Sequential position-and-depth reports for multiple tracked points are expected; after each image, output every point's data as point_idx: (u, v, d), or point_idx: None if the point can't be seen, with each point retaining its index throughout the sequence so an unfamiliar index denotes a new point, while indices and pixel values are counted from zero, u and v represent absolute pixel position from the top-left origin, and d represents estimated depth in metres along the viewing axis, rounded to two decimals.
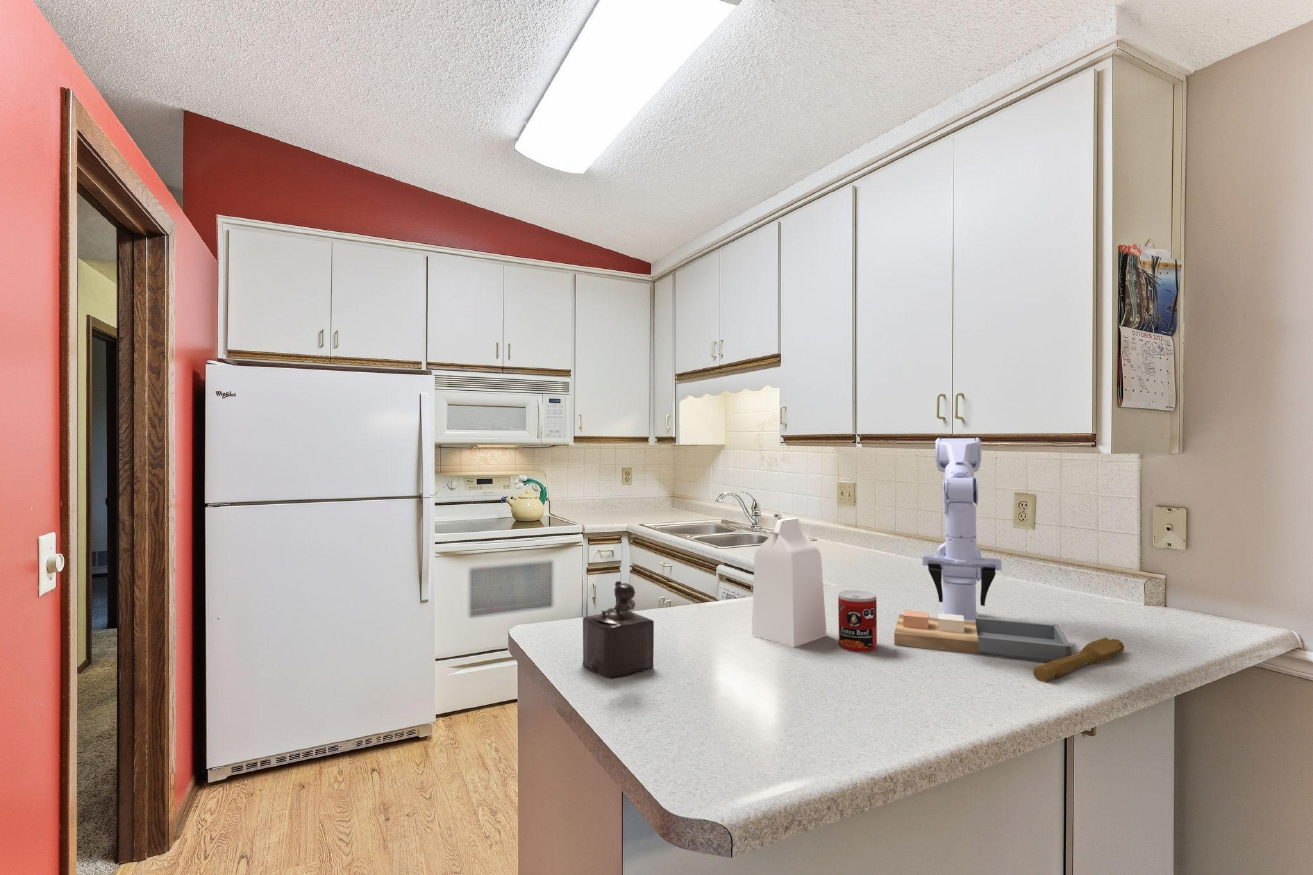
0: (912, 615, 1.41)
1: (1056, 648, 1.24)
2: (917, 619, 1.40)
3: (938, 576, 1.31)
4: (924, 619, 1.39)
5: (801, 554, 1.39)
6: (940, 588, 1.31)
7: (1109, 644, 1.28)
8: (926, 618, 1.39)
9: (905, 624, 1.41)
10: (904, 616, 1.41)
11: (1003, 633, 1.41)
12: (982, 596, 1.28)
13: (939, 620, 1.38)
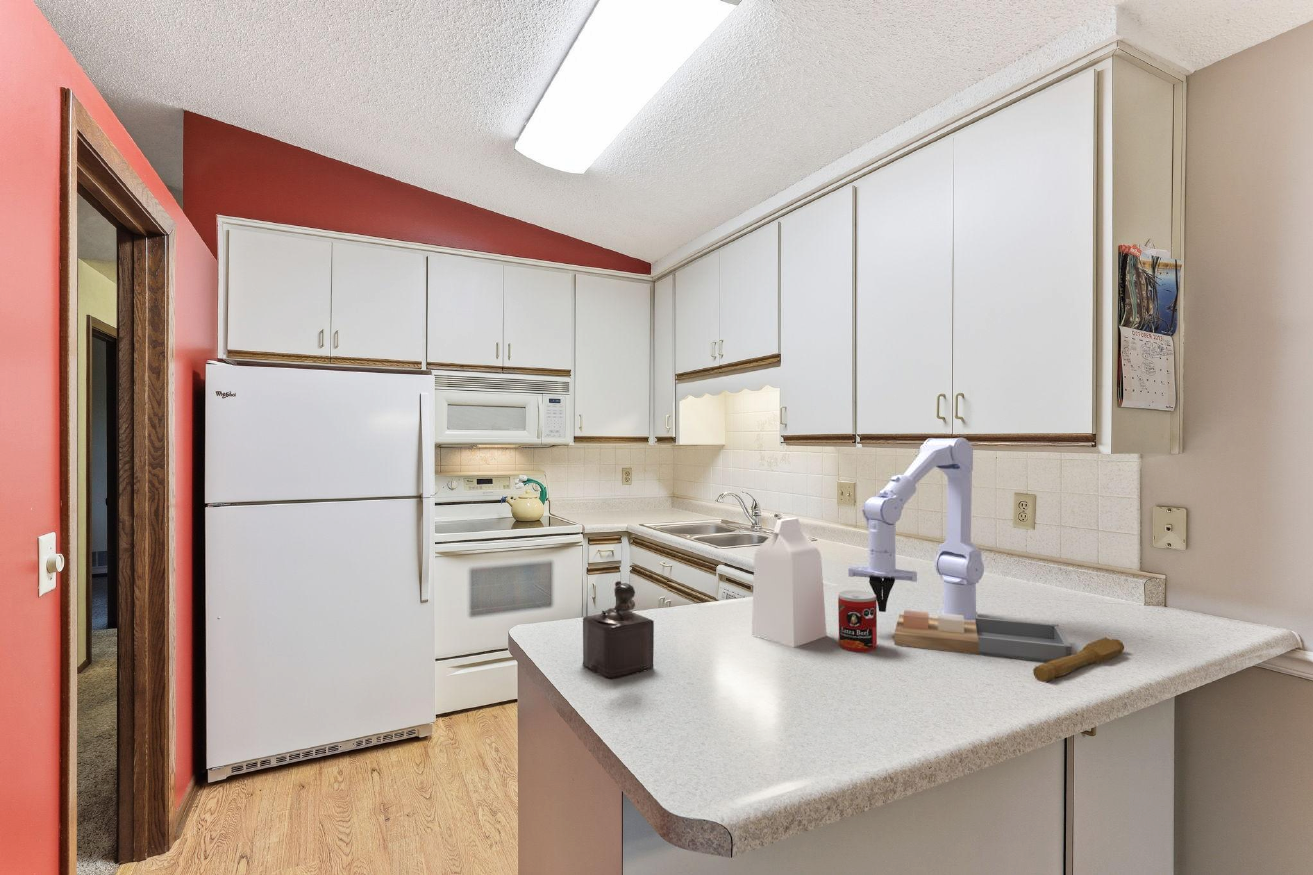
0: (912, 615, 1.41)
1: (1056, 648, 1.24)
2: (917, 619, 1.40)
3: (877, 588, 1.43)
4: (924, 619, 1.39)
5: (801, 554, 1.39)
6: (879, 599, 1.44)
7: (1109, 644, 1.28)
8: (926, 618, 1.39)
9: (905, 624, 1.41)
10: (904, 616, 1.41)
11: (1003, 633, 1.41)
12: (883, 603, 1.44)
13: (939, 620, 1.38)
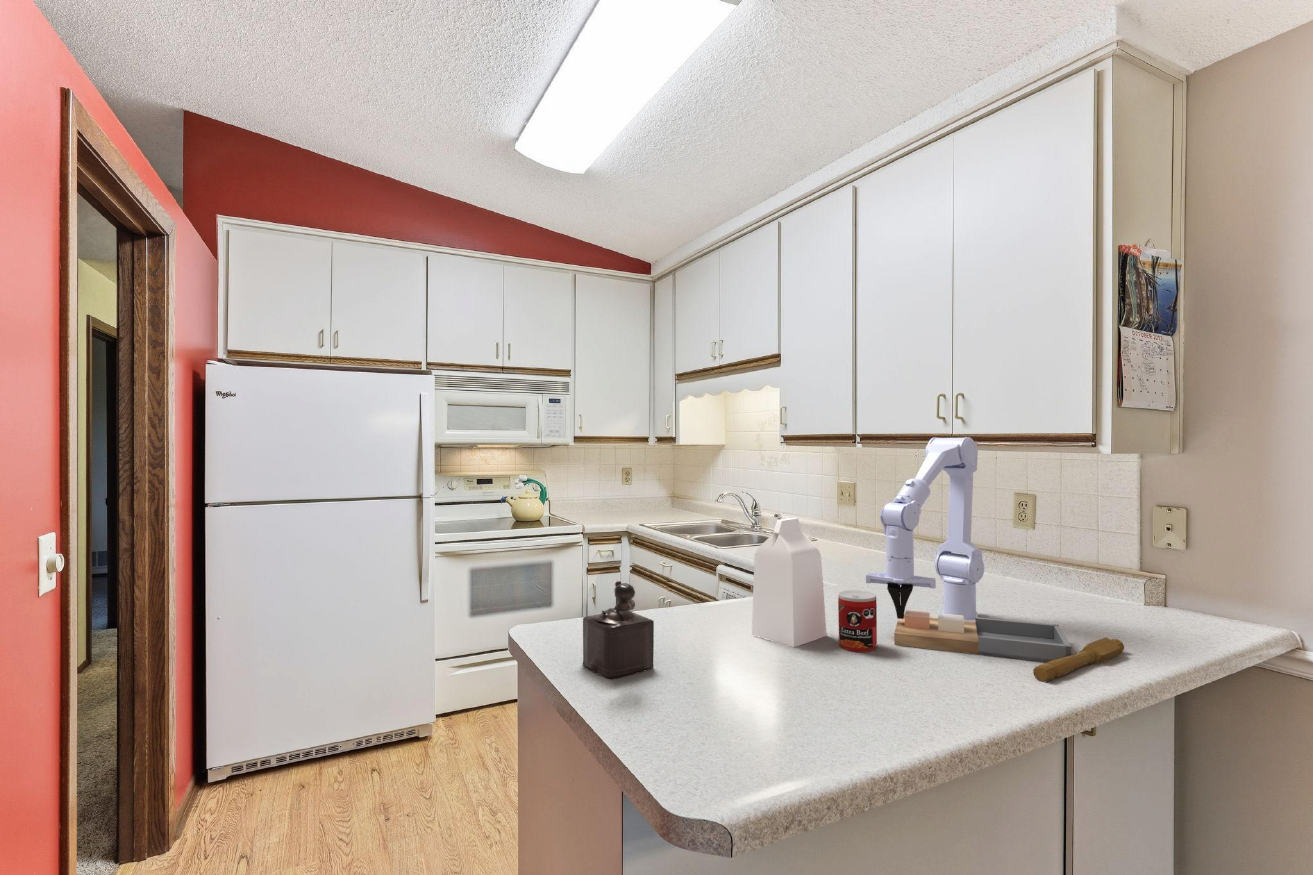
0: (913, 615, 1.41)
1: (1056, 648, 1.24)
2: (918, 619, 1.40)
3: (896, 595, 1.42)
4: (925, 619, 1.39)
5: (801, 554, 1.39)
6: (898, 606, 1.42)
7: (1109, 644, 1.28)
8: (927, 618, 1.39)
9: (906, 624, 1.41)
10: (905, 616, 1.41)
11: (1003, 633, 1.41)
12: (901, 610, 1.42)
13: (939, 620, 1.38)
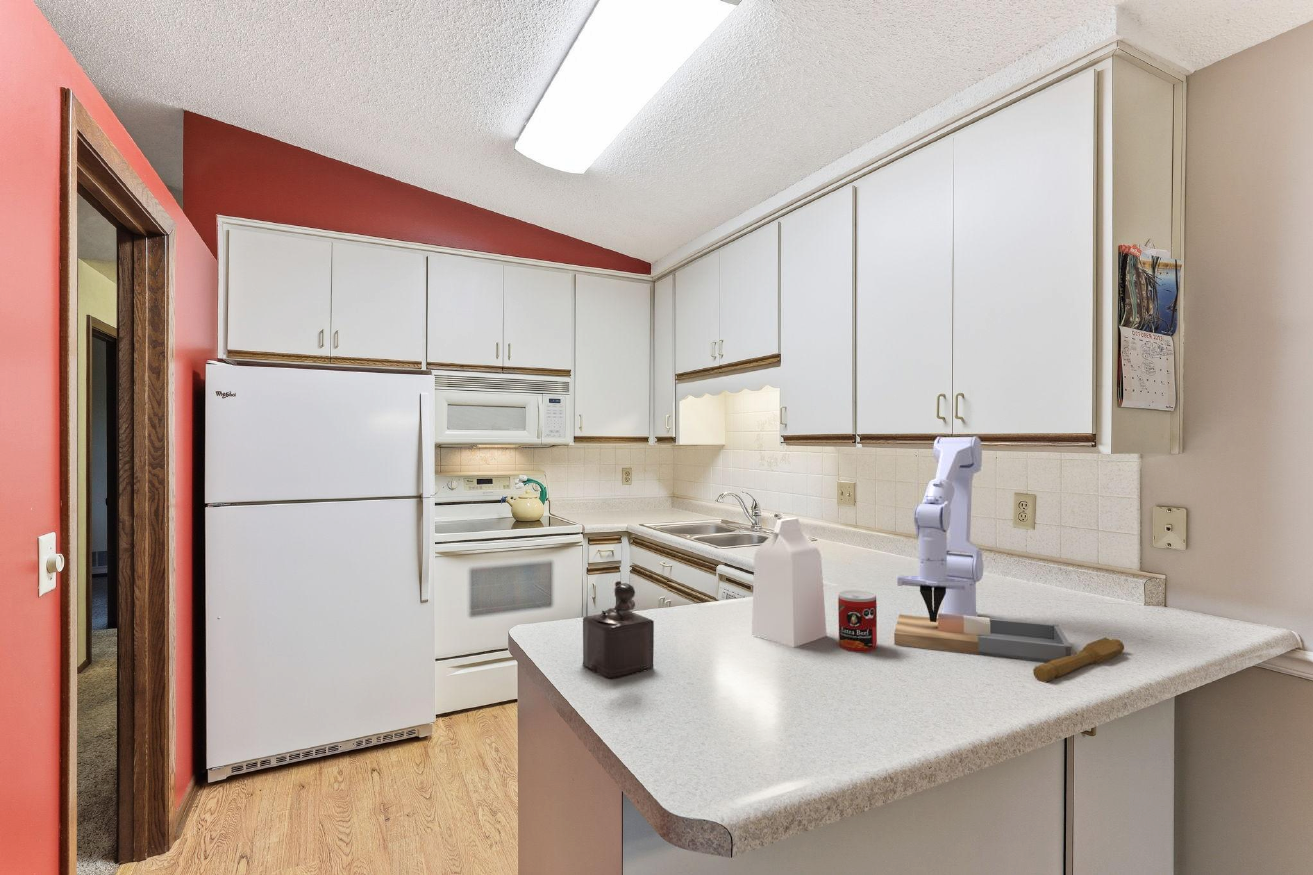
0: (947, 618, 1.38)
1: (1056, 648, 1.24)
2: (952, 623, 1.37)
3: (929, 597, 1.39)
4: (959, 622, 1.36)
5: (801, 554, 1.39)
6: (931, 609, 1.39)
7: (1109, 644, 1.28)
8: (961, 621, 1.36)
9: (940, 628, 1.38)
10: (939, 619, 1.38)
11: (1003, 633, 1.41)
12: (934, 613, 1.39)
13: (965, 623, 1.36)
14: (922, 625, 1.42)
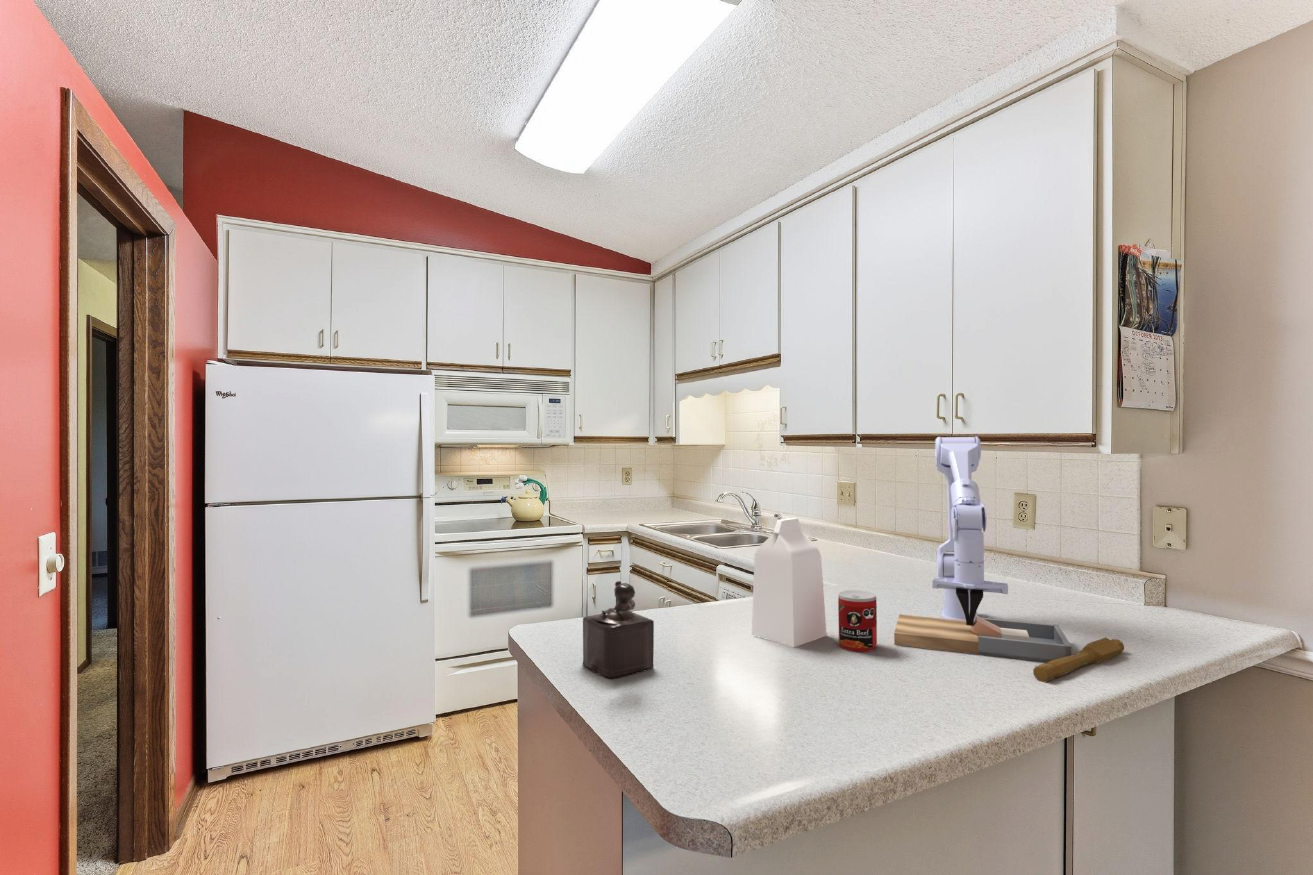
0: (985, 624, 1.35)
1: (1056, 648, 1.24)
2: (989, 630, 1.34)
3: (966, 600, 1.36)
4: (997, 633, 1.33)
5: (801, 554, 1.39)
6: (967, 612, 1.36)
7: (1109, 644, 1.28)
8: (999, 633, 1.33)
9: (975, 630, 1.35)
10: (977, 622, 1.35)
11: None
12: (971, 617, 1.36)
13: (1002, 635, 1.33)
14: (922, 625, 1.42)
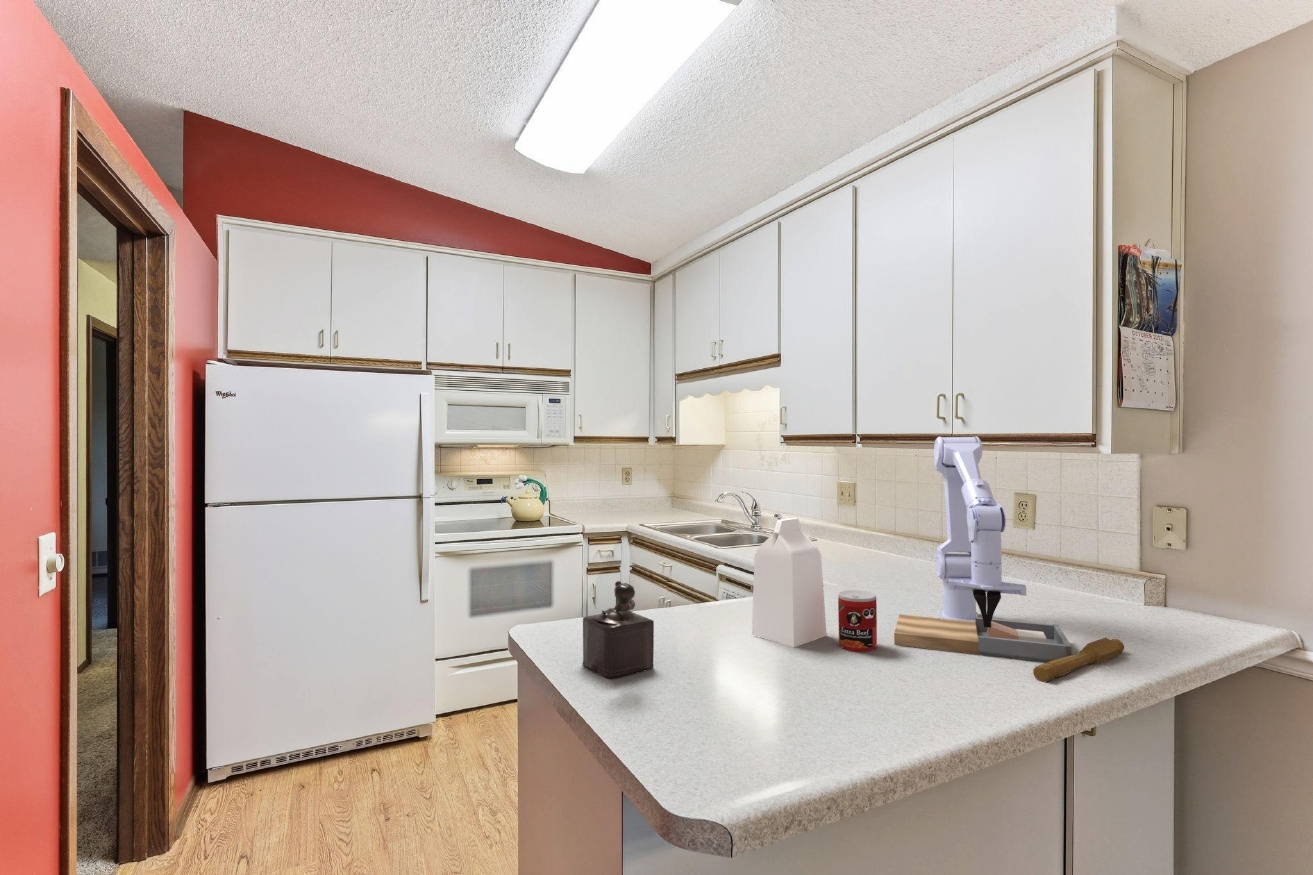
0: (1001, 629, 1.34)
1: (1056, 648, 1.24)
2: (1006, 635, 1.33)
3: (983, 602, 1.35)
4: (1013, 637, 1.32)
5: (801, 554, 1.39)
6: (985, 613, 1.35)
7: (1109, 644, 1.28)
8: (1016, 636, 1.32)
9: (991, 636, 1.34)
10: (992, 628, 1.34)
11: None
12: (988, 618, 1.35)
13: (1019, 637, 1.32)
14: (922, 625, 1.42)
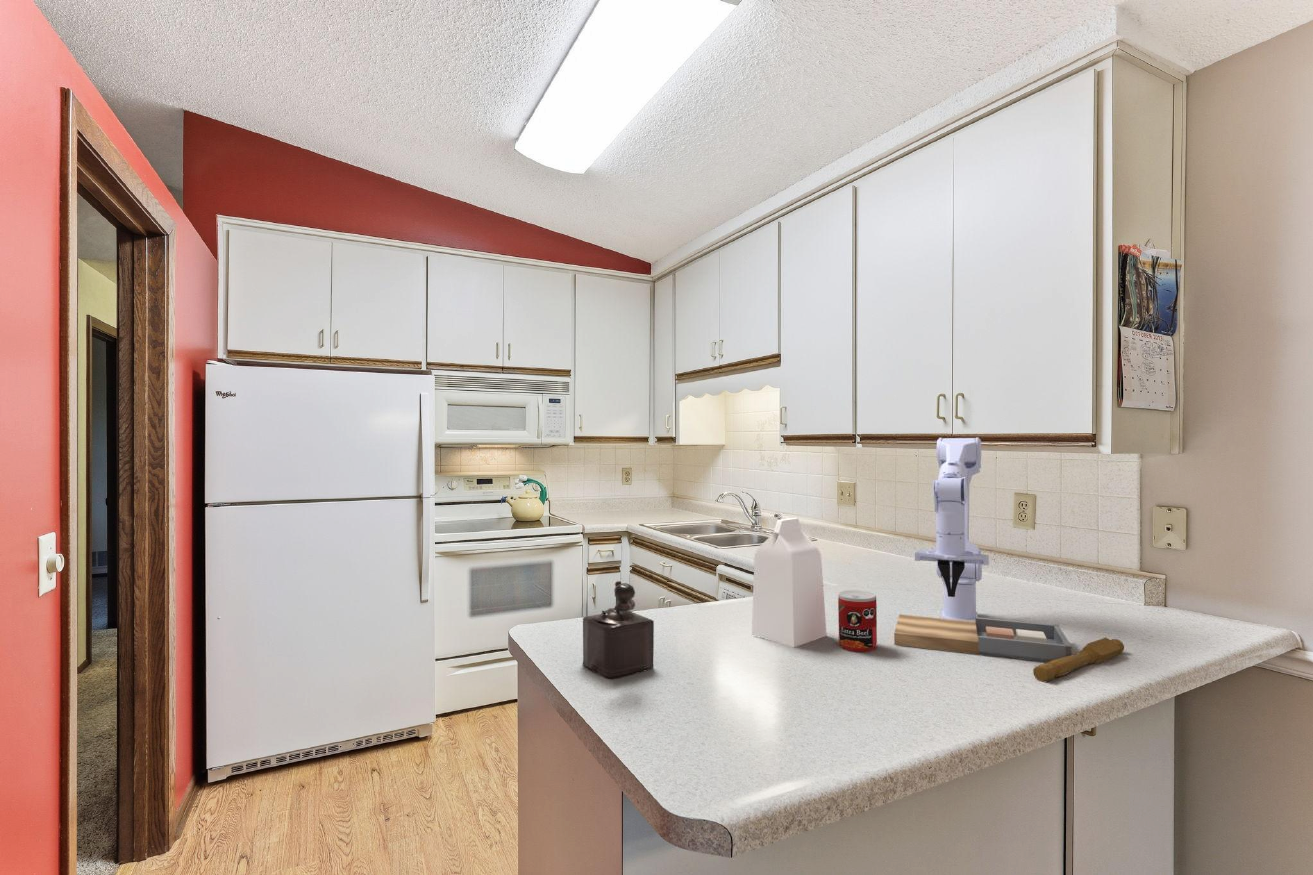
0: (996, 632, 1.34)
1: (1056, 648, 1.24)
2: (1002, 637, 1.33)
3: (947, 572, 1.38)
4: (1010, 637, 1.32)
5: (801, 554, 1.39)
6: (949, 583, 1.38)
7: (1109, 644, 1.28)
8: (1012, 636, 1.32)
9: None
10: (988, 633, 1.34)
11: None
12: (952, 588, 1.38)
13: (1019, 637, 1.32)
14: (922, 625, 1.42)
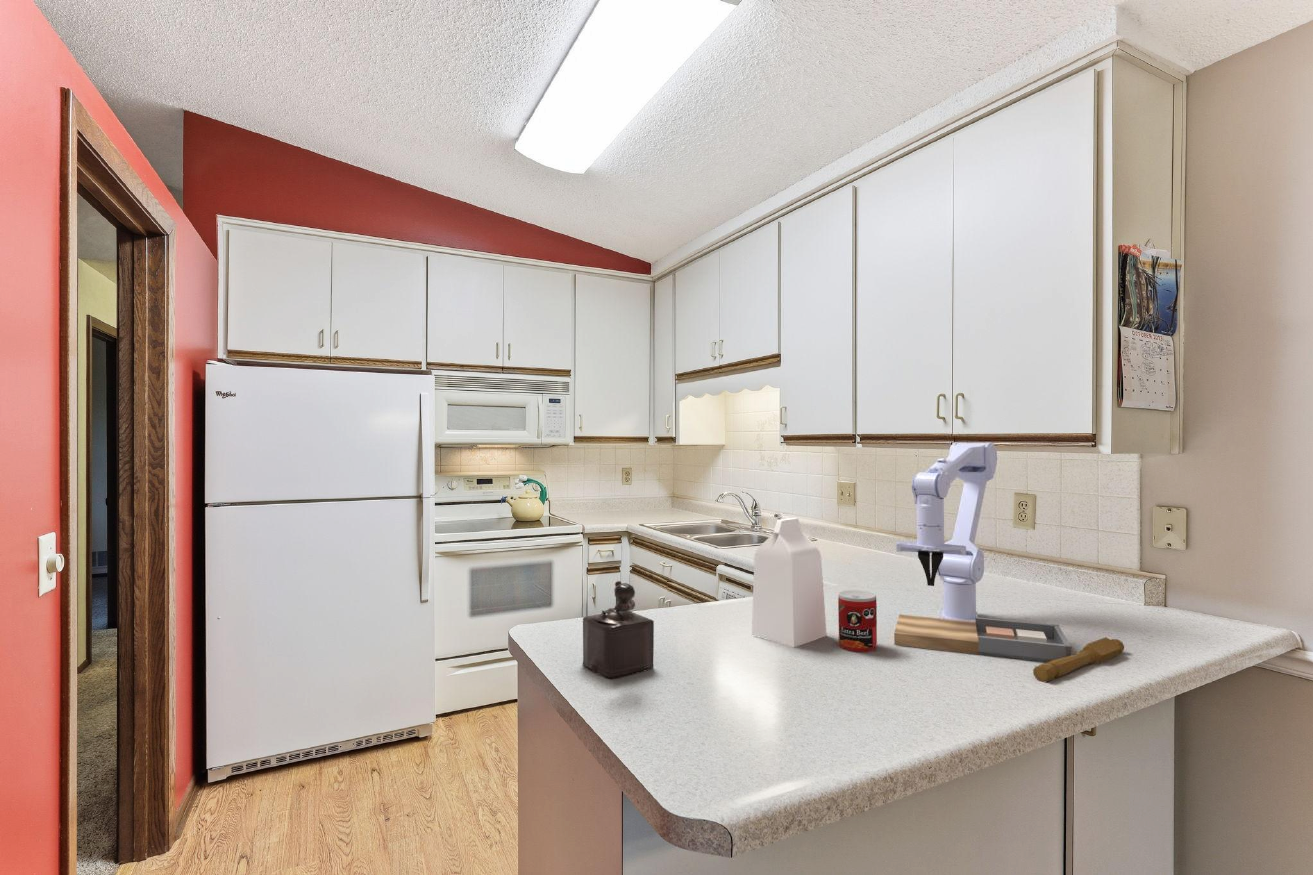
0: (996, 632, 1.34)
1: (1056, 648, 1.24)
2: (1002, 637, 1.33)
3: (927, 562, 1.45)
4: (1010, 637, 1.32)
5: (801, 554, 1.39)
6: (928, 573, 1.45)
7: (1109, 644, 1.28)
8: (1012, 636, 1.32)
9: None
10: (988, 633, 1.34)
11: None
12: (932, 577, 1.45)
13: (1019, 637, 1.32)
14: (922, 625, 1.42)
